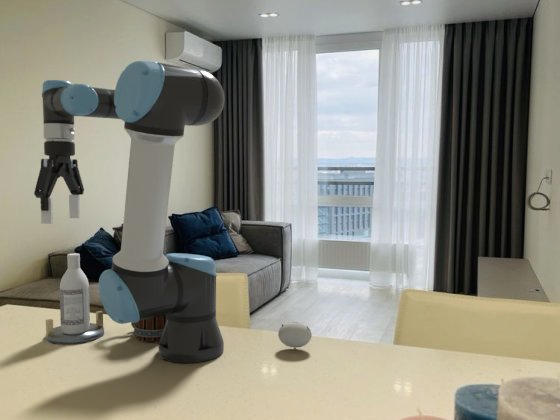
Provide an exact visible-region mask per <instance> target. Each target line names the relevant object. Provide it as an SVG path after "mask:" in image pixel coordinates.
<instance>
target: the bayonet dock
mask: <svg viewBox="0 0 560 420" xmlns="http://www.w3.org/2000/svg"><path fill="white" fill-rule="evenodd" d="M104 334H105V327H104V312H103V311H102V310H98V311H95V323H94V322H93V323H92V322H90V329H89V330H88V331H87V332H84V333H81V334H74V335H69V334H64V333H62V332H61V325H59V326H56V327H54V319H52V318H50V319H45V340H46V342H48V343H49V344H53V345H62V346H63V345H64V346H66V345H68V346H71V345H80V344H84V343H86V344H87V343H89V342H93V341H96V340H98V339H100V338H102V337H103V336H104Z"/></svg>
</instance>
